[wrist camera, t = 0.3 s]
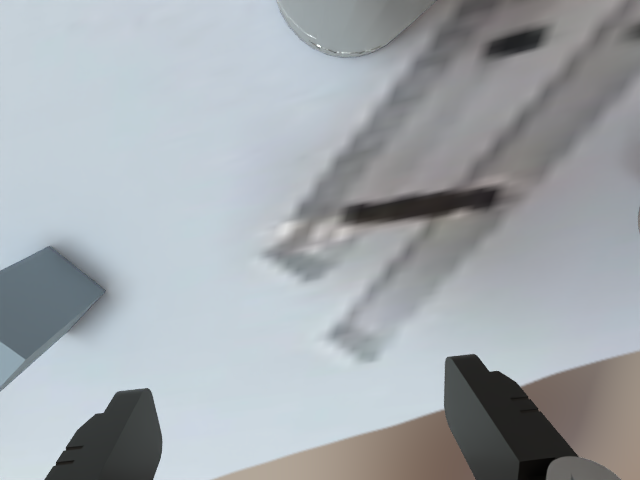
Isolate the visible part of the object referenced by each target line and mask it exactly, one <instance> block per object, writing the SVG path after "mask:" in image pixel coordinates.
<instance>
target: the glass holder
mask: <svg viewBox="0 0 640 480" xmlns="http://www.w3.org/2000/svg"><path fill="white" fill-rule="evenodd" d="M638 227H639V232H640V209H639V215H638Z"/></svg>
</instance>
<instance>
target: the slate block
mask: <svg viewBox="0 0 640 480" xmlns="http://www.w3.org/2000/svg"><path fill="white" fill-rule="evenodd" d="M105 291H106V290H104V289H103V288H102V287H101V286H99V285H98V284H97V283H96V282H94V281H93V280H92V279H91V278H89V277H88V276H87V275H85V274H84V273H83V272H82V271H80V270H79V269H78V268H77V267H75V266H74V265H73V264H72V263H70V262H69V261H68V260H67V259H65V258H64V257H63V256H62V255H60V254H59V253H58V252H57V251H55V250H54V249H53V248H52V247H50V246H49V247H47V248H45V249H43V250H41V251H39V252H37V253H35V254H33V255H31V256H29V257H27V258H25V259H23V260H21V261H19V262H17V263H15V264H13V265H11V266H9V267H7V268H5V269H3V270H1V271H0V391H1V390H3V389H4V388H5V387H6V386H7V385H8V384H9V383H10V382H12V381H13V380H14V379H15V378H16V377H17V376H18V375H19V374H21V373H22V372H23V371H24V370H25V369H26V368H27V367H28V366H30V365H31V364H32V363H33V362H34V361H35V360H36V359H37V358H39V357H40V356H41V355H42V354H43V353H44V352H45V351H46V350H48V349H49V348H50V347H51V346H52V345H53V344H54V343H55V342H57V341H58V340H59V339H60V338H61V337H62V336H63V335H64V334H66V333H67V332H68V331H69V329H70V328H71V327H72V326H73V325H74V324H75V323H76V322H77V321H78V320H79V319H80V318H81V317H82V316H83V315H84V314H85V313H86V311H87V310H88V309H89V308H90V307H91V306H92V305H93V304H94V303H95V302H96V301H97V300H98V299H99V298H100V297H101V296H102V295H103V293H104V292H105Z"/></svg>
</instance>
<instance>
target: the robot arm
mask: <svg viewBox="0 0 640 480" xmlns="http://www.w3.org/2000/svg"><path fill="white" fill-rule="evenodd" d="M276 1H277V4H278V6H279V9H280V12H281V14H282V15H283V17H284V19H285V21H286V22H287V24H288V26H289V27H290V28H291V29H292V30H293V32H294V33H295V34H296V35H297V36H298V37H299V38H300V39H301V40H302V41H304V42H305V43H306V44H308V45H309V46H310V47H312V48H313V49H316V50H318V51H320V52H322V53H325V54H327V55H332V56H338V57H358V56H362V55H365V54H369V53H372V52H374V51H376V50H378V49H380V48H382V47H383V46H385V45H387V44H388V43H389V42H390V41H392V40H393V39H394V38H395V37H396V36H397V35H399V34H400V33H401V32H402V31H403V30H404V29H406V28H407V27H408V26H409V25H410V24H411V23H412V22H414V21H415V20H416V19H417V18H418V17H419V16H420V15H421V14H422V13H423V12H425V11H426V10H427V9H428V8H429V7H430V6H431V5H432V4H433V3H434V2H436V1H437V0H276ZM444 408H445V414H446V418H447V422H448V425H449V427H450V430H451V432H452V434H453V436H454V437H455V439H456V441H457V443H458V445H459V447H460V449H461V451H462V453H463V455H464V457H465V459H466V461H467V463H468V465H469V467H470V469H471V471H472V473H473V475H474V477H475V479H476V480H621V479H620V478H619V477H618V476H617V475H616V474H614V473H613V472H612V471H610V470H609V469H607V468H606V467H604V466H602V465H600V464H598V463H596V462H594V461H591V460H588V459H584V458H580V457H578V456H577V454H576V453H575V452H574V451H573V449H572V448H571V447H570V446H569V445H568V443H567V442H566V441H565V440H564V439H563V437H562V436H561V435H560V434H559V433H558V432H557V430H556V429H555V428H554V427H553V426H552V424H551V423H550V422H549V421H548V420H547V419H546V417H545V416H544V415H543V414H542V413H541V412H539V411H538V408H537V407H536V405H535V404H534V403H533V402H532V401H531V399H528V396H527V395H526V393H525V392H524V391H523V390H522V389H521V388H520V386H519V385H518V384H517V383H516V382H515V381H513V380H512V379H510V378H509V377H507V376H506V375H504V374H502V373H501V372H499V371H493V372H489V370H488V369H487V368H486V367H485V365H484V364H483V363H482V361H481V360H480V359H479V357H478V356H477V355H475V354H470V355H461V356H452V357H447V358H446V361H445V388H444ZM161 453H162V434H161V430H160V425H159V421H158V417H157V413H156V408H155V404H154V400H153V396H152V393H151V391H150V389H148V388H145V389H136V390H126V391H119V392H117V393H116V394H115V395H114V397H113V399H112V400H111V402H110V403H109V405H108V407H107V408H106V410H105V412H104V413H100V414H95V415H94V416H93V417H92V418H91V419H89V420H88V421H87V422H86V423H85V424H84V425H83V426H81V427H80V428H79V429H78V430H77V431H76V433H75V434H74V436H73V437H72V439H71V441H70V442H69V444H68V445H67V447H66V451H63V453H62V454H61V456H60V457H59V459H58V460H57V462H56V466H53V468H52V469H51V471H50V472H49V474H48V475H47V477H46V478H45V480H153V478H154V475H155V472H156V470H157V467H158V464H159V461H160V458H161Z"/></svg>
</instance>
